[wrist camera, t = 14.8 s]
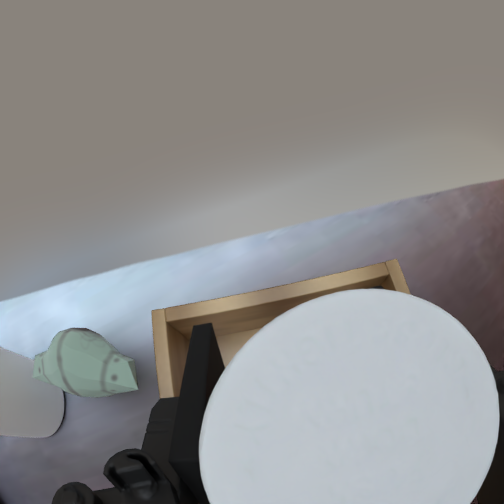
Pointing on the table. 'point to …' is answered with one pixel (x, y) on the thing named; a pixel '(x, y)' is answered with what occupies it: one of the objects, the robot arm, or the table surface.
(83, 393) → the green rounded faceted piece
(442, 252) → the table surface
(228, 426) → the pill bottle
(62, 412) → the can
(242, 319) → the holder
